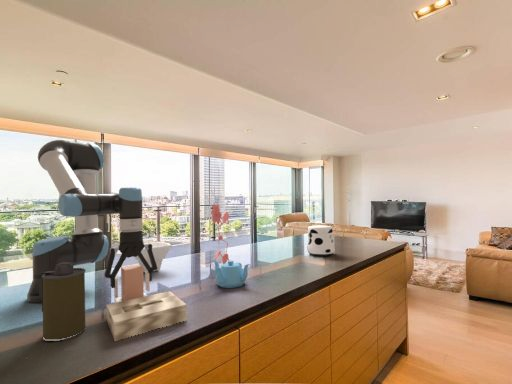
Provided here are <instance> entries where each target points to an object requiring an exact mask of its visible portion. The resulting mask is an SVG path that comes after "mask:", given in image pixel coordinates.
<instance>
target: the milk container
mask: <svg viewBox="0 0 512 384" xmlns="http://www.w3.org/2000/svg"><path fill="white" fill-rule="evenodd" d="M333 229H334V228H333V226H332V225H323V224H322V225H309V226H308V227H307V238H308V241H307V244H306V245H307V246H306V248H307V252H308V254H310V255H312V256H320V257H326V256H331V255H334V253H335V249H336V247H335V242H334V230H333Z"/></svg>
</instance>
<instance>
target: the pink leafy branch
mask: <svg viewBox="0 0 512 384" xmlns="http://www.w3.org/2000/svg"><path fill="white" fill-rule="evenodd" d="M210 214H211V216H212V218H211V220H210V221H209V223H211V222H212V221H213V224H217V225H218V226H217V231H218V238H217V239H218V241H217V242H218V244H220V241H223V242H225V243H226V247H228V246H229V243H228V242H227V241H226V240H224V239H223V235H220V229H219V228H220V227H221V226H222V225H224V224H225V225H230V221H229V218H230V214H229V212H228V211H226V212H225V213H224V214H223V215H222V212H220V205H219V203H216V204H215V203H212V209H211V211H210ZM225 249H226V250H225V253H224V254H223V256H222V253H221V252H222V251H221V250H218V252H217V253H216V255H215V257H214V258H213V259H214V260H216V261H217V259H219V258H221V260H222V261H221V262H222V265H223V264H225V263H228V261H231V260H230V259H229V254H228V253H227V252H228V248H225ZM207 267H208V268H210V266H209V265H208V266H207Z"/></svg>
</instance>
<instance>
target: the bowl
mask: <svg viewBox="0 0 512 384" xmlns="http://www.w3.org/2000/svg"><path fill="white" fill-rule="evenodd" d="M143 243H144V244H148V243H150V244H152V252H153V255H154V259H155V262H156V265H157V270H154V271H153V272H155V271H161V267H162V263H163V260H164V259H166V257H167V255H168V253H169V251H170V249H172V244H171V243H168V242H165V241H151V242H143ZM141 253H142V255H143V256H144V258H145V260H146V261H147V263H148V264H149V266H150V267H152V265H151V262H150V259H149V255H148V252H147V250H146V249H145V247H144V248H143V250H142V251H141ZM134 258H135V260H136V261H138V264H139V265H140V266H142V267H143V273H145V272H148V270H147V269H146V267H145V266H144V264H143V263H142V261H141V260H140V258H139V257H138V256H137V257H134Z"/></svg>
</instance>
